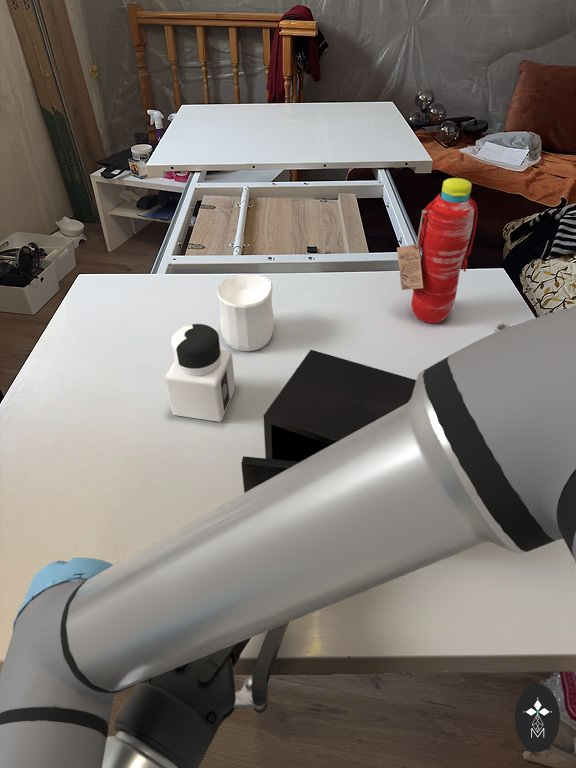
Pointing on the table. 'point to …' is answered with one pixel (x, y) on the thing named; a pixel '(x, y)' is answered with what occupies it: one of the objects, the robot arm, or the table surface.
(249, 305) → the cup
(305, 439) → the dark grey cabinet
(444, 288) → the water bottle
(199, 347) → the container
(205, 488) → the table surface
